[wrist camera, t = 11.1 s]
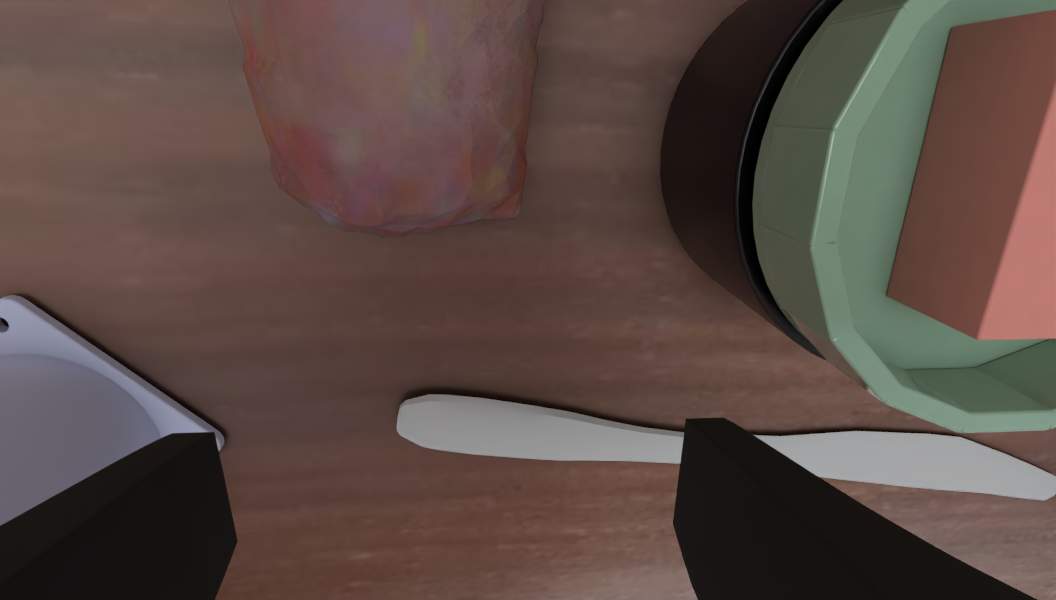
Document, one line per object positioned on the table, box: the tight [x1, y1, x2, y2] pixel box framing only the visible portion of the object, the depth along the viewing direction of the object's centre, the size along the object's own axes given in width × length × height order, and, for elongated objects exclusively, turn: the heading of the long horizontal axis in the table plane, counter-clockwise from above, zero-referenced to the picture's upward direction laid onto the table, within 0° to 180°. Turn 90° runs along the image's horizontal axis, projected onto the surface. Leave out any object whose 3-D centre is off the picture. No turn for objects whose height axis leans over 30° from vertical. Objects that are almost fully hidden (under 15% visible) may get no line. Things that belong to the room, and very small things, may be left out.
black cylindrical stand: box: [661, 0, 843, 361], centre depth 15 cm, size 10×10×6 cm
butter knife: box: [397, 394, 1056, 500], centre depth 21 cm, size 1×27×3 cm
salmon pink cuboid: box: [887, 10, 1056, 340], centre depth 10 cm, size 6×4×2 cm, turn 179°
